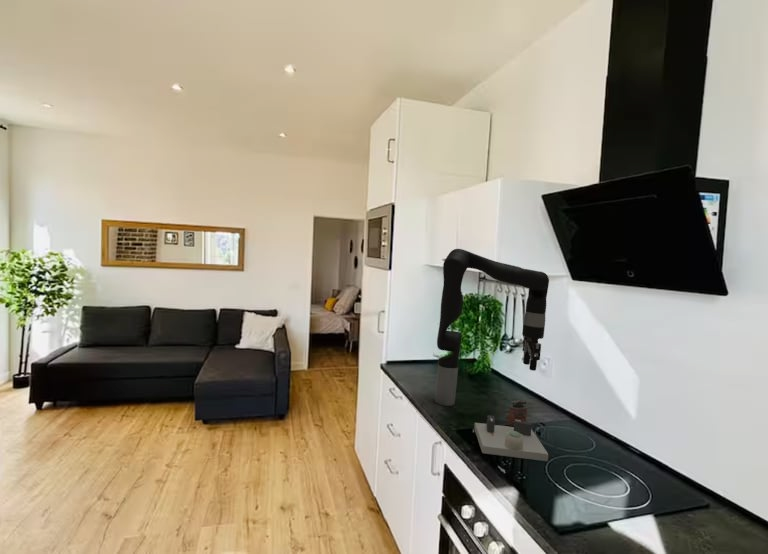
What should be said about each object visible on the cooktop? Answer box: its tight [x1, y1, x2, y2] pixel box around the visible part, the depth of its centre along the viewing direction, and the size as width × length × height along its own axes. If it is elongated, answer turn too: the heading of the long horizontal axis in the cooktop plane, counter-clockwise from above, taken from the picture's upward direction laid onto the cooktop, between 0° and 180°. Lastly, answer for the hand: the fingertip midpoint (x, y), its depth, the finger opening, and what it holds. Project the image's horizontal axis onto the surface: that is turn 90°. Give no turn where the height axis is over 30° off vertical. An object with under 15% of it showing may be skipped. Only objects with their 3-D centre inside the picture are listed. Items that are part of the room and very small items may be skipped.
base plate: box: [473, 422, 549, 462], centre depth 147 cm, size 20×22×7 cm
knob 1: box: [485, 414, 496, 432], centre depth 152 cm, size 2×6×4 cm, turn 169°
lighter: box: [507, 399, 529, 427], centre depth 166 cm, size 8×3×10 cm, turn 105°
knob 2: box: [513, 419, 533, 436], centre depth 151 cm, size 2×6×4 cm, turn 73°
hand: (529, 367), depth 150 cm, fingers open, 8 cm apart
